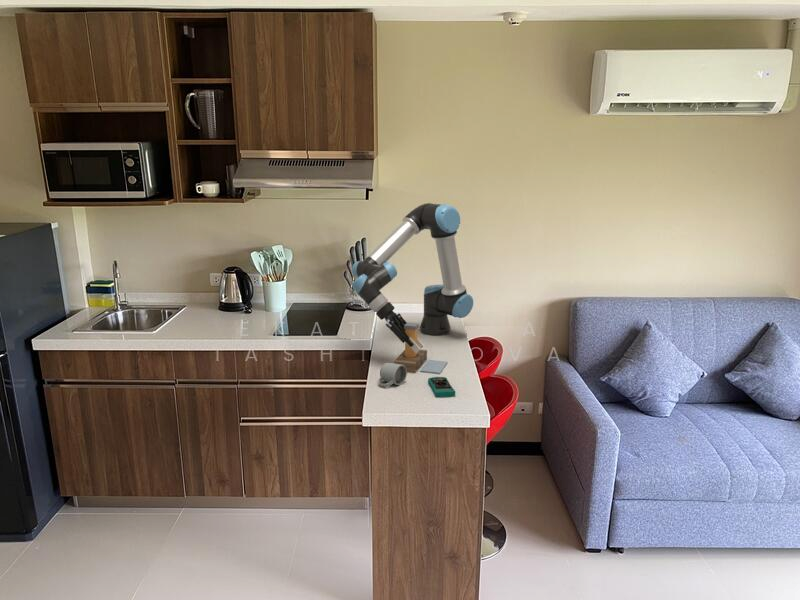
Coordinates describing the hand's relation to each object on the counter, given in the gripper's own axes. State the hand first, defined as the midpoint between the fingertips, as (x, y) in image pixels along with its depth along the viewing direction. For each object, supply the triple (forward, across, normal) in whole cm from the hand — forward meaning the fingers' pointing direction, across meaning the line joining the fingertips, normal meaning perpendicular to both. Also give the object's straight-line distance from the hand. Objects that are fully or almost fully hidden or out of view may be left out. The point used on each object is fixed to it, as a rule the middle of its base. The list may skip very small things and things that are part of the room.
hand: (420, 349), depth 245 cm
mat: (+9, 0, 0) cm, 9 cm away
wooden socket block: (+2, 0, -8) cm, 8 cm away
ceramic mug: (+2, +23, -8) cm, 24 cm away
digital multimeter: (+16, +22, +5) cm, 28 cm away
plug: (+2, 0, -7) cm, 7 cm away
